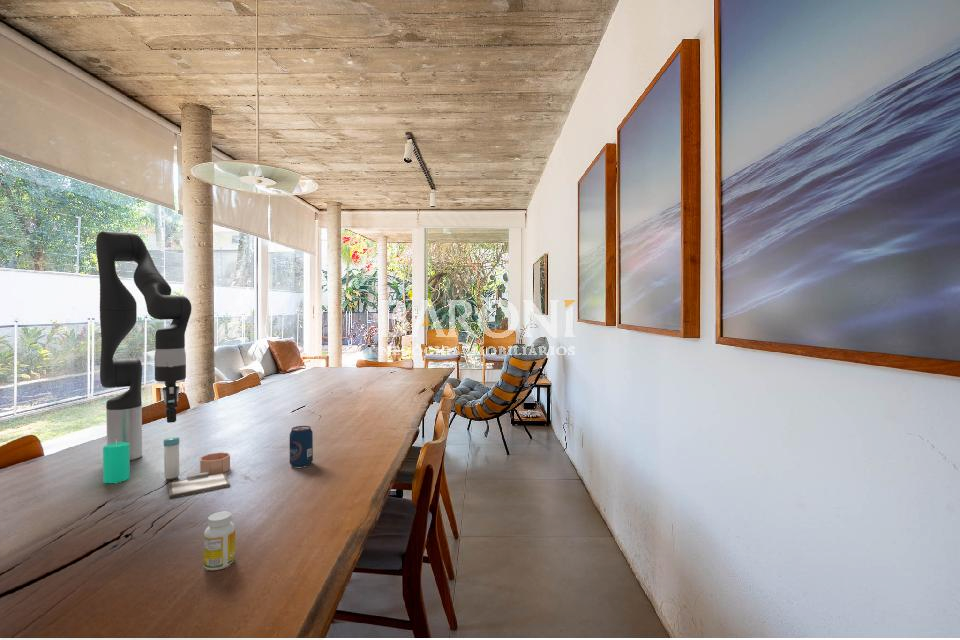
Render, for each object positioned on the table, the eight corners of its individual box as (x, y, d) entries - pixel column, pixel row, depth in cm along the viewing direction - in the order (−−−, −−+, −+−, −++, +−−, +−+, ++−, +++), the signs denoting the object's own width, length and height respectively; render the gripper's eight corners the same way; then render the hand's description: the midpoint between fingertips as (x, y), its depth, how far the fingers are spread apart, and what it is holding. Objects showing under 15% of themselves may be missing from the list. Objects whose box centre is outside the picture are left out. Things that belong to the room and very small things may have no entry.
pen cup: (199, 469, 138) (199, 455, 138) (227, 464, 143) (227, 451, 143) (201, 477, 132) (201, 462, 132) (231, 471, 137) (231, 457, 137)
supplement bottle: (209, 575, 83) (209, 525, 83) (199, 565, 87) (199, 516, 87) (240, 563, 88) (239, 515, 87) (229, 553, 91) (228, 507, 91)
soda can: (284, 466, 141) (284, 429, 141) (301, 460, 148) (300, 424, 148) (301, 469, 139) (301, 431, 138) (317, 462, 145) (317, 426, 145)
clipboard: (168, 485, 126) (168, 479, 126) (224, 474, 134) (224, 468, 134) (169, 498, 117) (169, 491, 117) (229, 486, 126) (229, 480, 126)
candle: (114, 485, 126) (114, 443, 126) (97, 483, 127) (97, 441, 127) (135, 477, 132) (134, 437, 132) (118, 475, 133) (118, 435, 133)
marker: (163, 479, 131) (163, 438, 130) (179, 476, 133) (179, 436, 133) (164, 483, 128) (163, 441, 127) (180, 480, 130) (179, 439, 130)
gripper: (154, 362, 133) (155, 416, 133) (154, 367, 122) (155, 426, 122) (184, 360, 138) (185, 413, 138) (187, 365, 126) (187, 422, 126)
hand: (171, 419), depth 130 cm, fingers open, 8 cm apart
